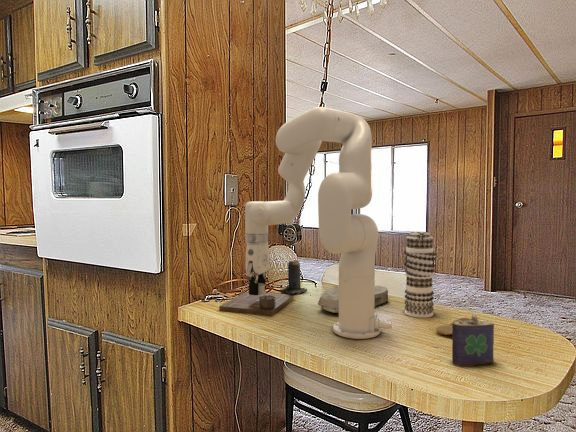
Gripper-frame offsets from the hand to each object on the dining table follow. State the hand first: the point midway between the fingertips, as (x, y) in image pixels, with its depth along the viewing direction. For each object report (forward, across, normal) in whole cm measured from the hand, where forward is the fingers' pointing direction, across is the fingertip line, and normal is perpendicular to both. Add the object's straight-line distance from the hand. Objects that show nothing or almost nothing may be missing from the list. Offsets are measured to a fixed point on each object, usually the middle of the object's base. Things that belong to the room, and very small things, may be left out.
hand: (257, 292), depth 138 cm
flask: (+4, -27, -64) cm, 70 cm away
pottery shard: (+4, -8, -62) cm, 63 cm away
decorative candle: (+4, +7, -51) cm, 52 cm away
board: (+4, 0, 0) cm, 4 cm away
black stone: (+3, -6, -6) cm, 9 cm away
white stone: (0, 0, 0) cm, 0 cm away
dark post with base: (+5, +20, -6) cm, 21 cm away
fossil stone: (+4, +9, -30) cm, 32 cm away
